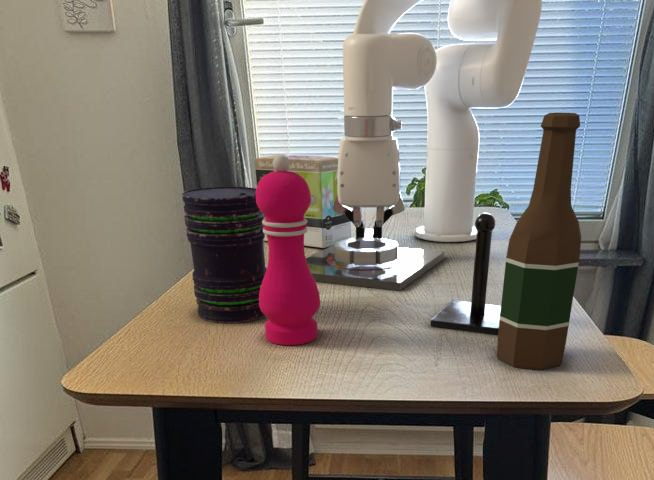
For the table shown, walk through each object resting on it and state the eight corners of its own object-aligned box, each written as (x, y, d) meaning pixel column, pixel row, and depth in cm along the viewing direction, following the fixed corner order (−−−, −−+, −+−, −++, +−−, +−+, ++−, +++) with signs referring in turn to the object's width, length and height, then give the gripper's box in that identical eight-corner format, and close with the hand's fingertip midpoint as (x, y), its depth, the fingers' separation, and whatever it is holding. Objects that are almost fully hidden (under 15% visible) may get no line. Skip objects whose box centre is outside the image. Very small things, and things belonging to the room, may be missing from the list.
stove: (339, 249, 122) (339, 241, 122) (444, 258, 115) (445, 250, 115) (280, 277, 105) (280, 269, 104) (399, 290, 98) (400, 281, 98)
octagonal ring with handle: (397, 265, 102) (397, 251, 101) (332, 265, 102) (331, 251, 101) (398, 240, 116) (398, 228, 115) (341, 240, 117) (341, 228, 116)
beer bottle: (486, 347, 78) (509, 111, 65) (552, 344, 78) (587, 110, 66) (505, 372, 71) (534, 115, 59) (576, 369, 72) (620, 114, 59)
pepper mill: (312, 349, 77) (304, 158, 67) (253, 345, 79) (236, 157, 68) (327, 329, 84) (322, 151, 73) (272, 325, 85) (259, 151, 74)
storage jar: (182, 318, 88) (164, 196, 80) (222, 298, 95) (209, 185, 88) (248, 326, 84) (236, 200, 77) (284, 305, 92) (276, 188, 85)
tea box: (353, 240, 129) (352, 155, 121) (323, 250, 121) (320, 160, 114) (290, 232, 136) (286, 151, 128) (259, 241, 128) (252, 156, 121)
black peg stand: (452, 305, 92) (458, 204, 85) (521, 313, 88) (533, 209, 82) (430, 326, 84) (435, 217, 78) (504, 335, 81) (517, 222, 74)
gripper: (418, 126, 107) (415, 245, 117) (321, 127, 108) (325, 245, 118) (419, 130, 101) (415, 255, 110) (315, 131, 102) (321, 255, 111)
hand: (369, 249), depth 114 cm, fingers closed on octagonal ring with handle, 1 cm apart
